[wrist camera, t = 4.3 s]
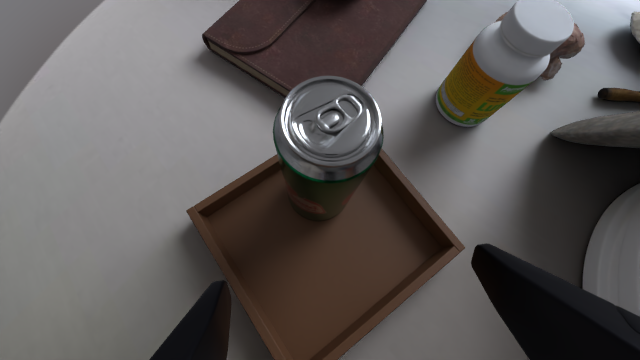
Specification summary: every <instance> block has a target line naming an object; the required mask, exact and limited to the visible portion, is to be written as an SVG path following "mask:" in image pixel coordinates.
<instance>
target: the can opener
mask: <svg viewBox="0 0 640 360" xmlns="http://www.w3.org/2000/svg"><path fill="white" fill-rule="evenodd" d="M598 97H599V98H602V99H607V100H615V101H635V102H640V91H632V90H627V89H620V88H603V89H601V90H600V91H599V92H598Z"/></svg>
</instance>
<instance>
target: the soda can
mask: <svg viewBox="0 0 640 360" xmlns="http://www.w3.org/2000/svg"><path fill="white" fill-rule="evenodd" d="M273 138H274V143H275V147H276V151H277V155H278V159H279V163H280V167H281V171H282V175H283V179H284V183H285V187H286V191H287V195H288V199H289V202H290V204H291V206H292V208H293V209H294V210H295V211H296V213H298V214H299V215H300V216H302V217H303V218H305V219H308V220H311V221H319V222H320V221H326V220H330V219H332V218H334V217H336V216H337V215H338V214H339V213H341V212H342V210H343V209H344V208H345V206H346V205H347V203H348V202H349V200H350V199H351V197H352V196H353V194H354V193H355V191H356V190H357V188H358V187H359V185H360V184H361V182H362V181H363V179H364V178H365V176H366V175H367V173H368V172H369V170H370V169H371V167H372V166H373V164H374V163H375V161H376V159H377V157H378V156H379V154H380V151H381V148H382V144H383V127H382V122H381V115H380V111H379V108H378V105H377V103H376V102H375V100H374V98H373V97H372V96H371V95H370V93H369V92H368V91H367V90H365V89H364V88H363V87H362V86H360V85H359V84H357V83H355V82H353V81H351V80H349V79H346V78H343V77H338V76H319V77H314V78H311V79H308V80H306V81H304V82H302V83H300V84H299V85H297V86H296V87H294V88H293V89H292V90H291V91H290V92H289V94H288V95H287V97H286V98H285V100H284V102H283V104H282V106H281V107H280V109H279V111H278V113H277V115H276V117H275V121H274V126H273Z"/></svg>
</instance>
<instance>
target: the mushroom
mask: <svg viewBox="0 0 640 360" xmlns="http://www.w3.org/2000/svg"><path fill="white" fill-rule="evenodd" d="M506 14H507V12H506V13H505V14H503V15H502V16H501V17H499V18H498V19H497V20H496V22H498V21H502V20H503V18H504V16H505V15H506ZM494 23H495V22H494ZM584 42H585V41H584V37H583V34H582V33H581V31H580V30H579V27H578V26H577V25H576V24H575V23H574V29H573V32H572V34H571V35H570V37H569V38H568V39H567V40H566V41H564V42H563V43H562V44H561V45H560V46H559V47H558V48H556V49H555V50H554V51H553V52H552V53H551V54H550V61H549V64H548V66H547V68H546V69H545V71H544V72H543V73H542V74H541V75H540V77H541V78H542V79H543V80H549V79H552V78H553V77H554V76H555V74H556V73H557V72H558V70H559V69H560V68H561V64H562V63H561V61H560V59H559V57H560V58H563V59H568V58H571V57H574V56H575V55H576V54H577V53H579V52H580V51H581V49H582V48H583V47H584V45H585V44H584Z"/></svg>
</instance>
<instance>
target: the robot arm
mask: <svg viewBox="0 0 640 360" xmlns="http://www.w3.org/2000/svg"><path fill="white" fill-rule="evenodd" d="M471 264H472V267H473V270H474V271H475V273H476V275H477V277H478V279H479V280H480V282H481V284H482V286H483V288H484V290H485V291H486V293H487V295H488V297H489V299H490V301H491V302H492V304H493V306H494V307H495V309H496V310H497V312H498V314H499V315H500V317H501V318H502V319H503V321H504V322H505V324H506V325H507V327H508V328H509V330H510V331H511V333H512V334H513V336H514V337H515V339H516V340H517V342H518V343H519V345H520V346H521V348H522V349H523V351H524V352H525V354H526V355H527V357H528V358H529V359H530V360H640V316H638V315H636V314H633V313H631V312H629V311H627V310H625V309H623V308H621V307H619V306H615V305H614V304H613V303H611V302H609V301H606V300H604V299H602V298H600V297H598V296H596V295H594V294H592V293H590V292H588V291H586V290H584V289H582V288H580V287H577V286H575V285H573V284H571V283H569V282H567V281H565V280H563V279H561V278H559V277H557V276H555V275H553V274H551V273H548V272H546V271H544V270H542V269H540V268H538V267H536V266H534V265H532V264H530V263H528V262H526V261H524V260H522V259H519V258H517V257H515V256H513V255H511V254H509V253H507V252H505V251H503V250H501V249H499V248H497V247H495V246H493V245H490V244H480V245H477V246H476V247H475V250H474V253H473V257H472V261H471ZM230 316H231V295H230V292H229V288H228V285H227V282H226V281H225V280H222V281H215V282H213V283H211V285H210V286H209V287H208V288H207V289H206V291H205V292H204V293H203V294H202V296H201V297H200V298H199V299H198V301H197V302H196V303H195V304H194V305H193V307H192V308H191V309H190V310H189V312H188V313H187V314H186V315H185V317H184V318H183V319H182V320H181V321H180V323H179V324H178V325H177V326H176V328H175V329H174V330H173V331H172V333H171V334H170V335H169V336H168V337H167V339H166V340H165V341H164V342H163V344H162V345H161V346H160V347H159V349H158V350H157V351H156V352H155V353H154V355H153V356H152V357H151V358H150V360H226V357H227V351H228V341H229V329H230Z"/></svg>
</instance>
